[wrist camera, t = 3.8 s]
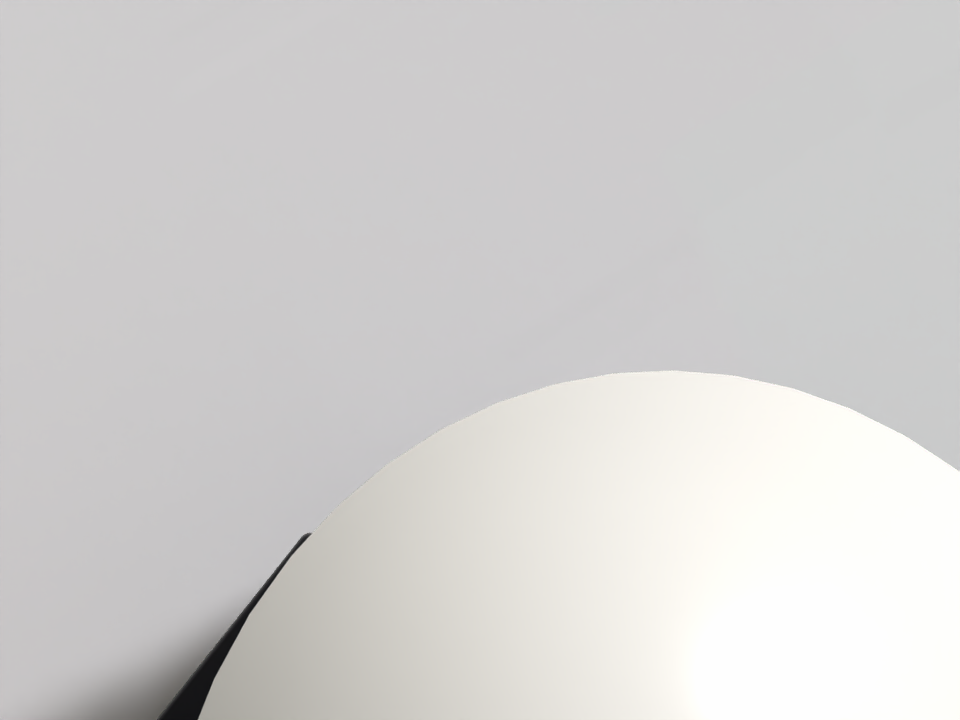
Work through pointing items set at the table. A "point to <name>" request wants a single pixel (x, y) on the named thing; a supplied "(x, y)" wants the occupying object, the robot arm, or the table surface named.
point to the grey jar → (623, 569)
